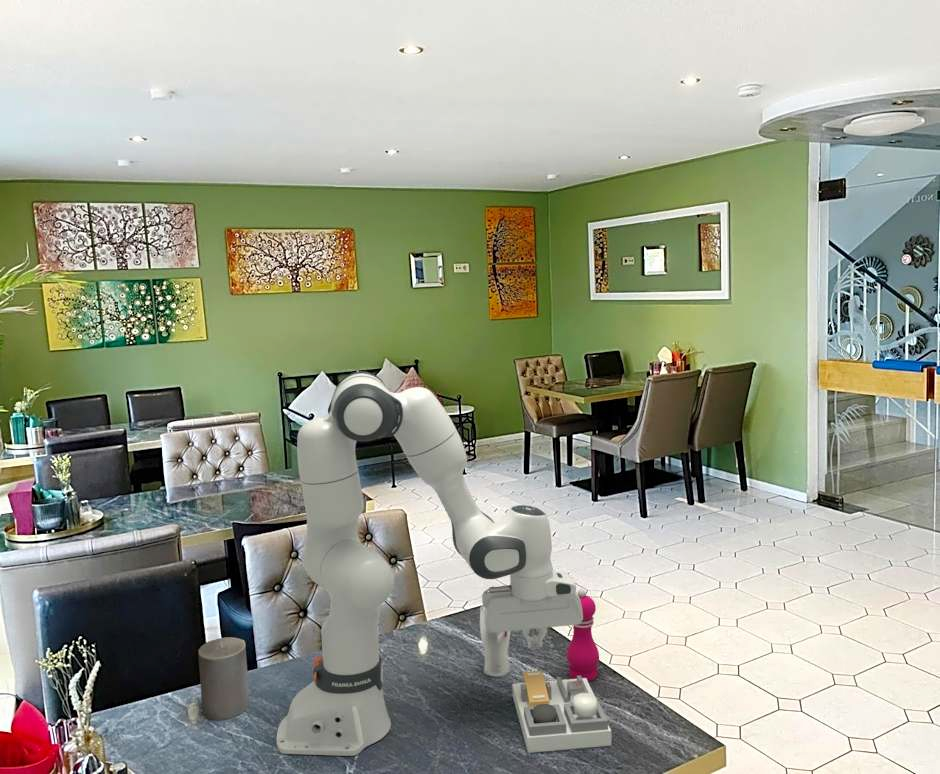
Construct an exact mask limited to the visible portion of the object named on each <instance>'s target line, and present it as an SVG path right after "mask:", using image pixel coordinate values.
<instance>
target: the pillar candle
mask: <svg viewBox="0 0 940 774" xmlns="http://www.w3.org/2000/svg"><path fill="white" fill-rule="evenodd" d="M246 650H247V649H246V641H245V640H244V639H241V638H237V637H230V636H229V637H219V638H215V639H213V640H210V641H208V642H205V643H204V644H203V645H201V646H200V647H199V649H198V667H199V680H200V681H199V682H200V683H199V684H200V697H201V710H202V715H203V716H204V717H205V718H207V719H209V720H212V721H213V720H214V721H224V720H229V719H233V718H236V717H237V716H239V715H241V714H243V713H244V712H246V711H247V709H248V707H249V705H250V691H249V677H248V676H249V675H248V664H247V663H248V662H247V651H246Z"/></svg>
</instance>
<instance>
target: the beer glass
mask: <svg viewBox="0 0 940 774" xmlns="http://www.w3.org/2000/svg"><path fill="white" fill-rule="evenodd" d="M479 608H480V611H479V632H480V638H481V642H482V643H481V644H482V646H483V653H484V662H483V673H484V674H485V675H487V676H489V677H493V678H494V677H495V678H498V677H499V678H500V677H505V676H507V675H508V674H509V673H510V671H511V666H510V662H509V656H508V655H509V653H508V652H509V645H510V639H511V631H505V632H494V633H490V632H489V631H488V630H487V629H486V626H485V607H484V606H483V604H482V605H481V606H480V607H479Z"/></svg>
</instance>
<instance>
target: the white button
mask: <svg viewBox="0 0 940 774" xmlns="http://www.w3.org/2000/svg"><path fill="white" fill-rule="evenodd" d="M597 701H598V700H597V697H596V696H595V694H594V695H592V694H589V693H580V694H577V695H575V696H574V713H575V714H576V715H578V716H580V717H592V716H594V715H596V713H597Z"/></svg>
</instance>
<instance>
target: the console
mask: <svg viewBox="0 0 940 774" xmlns="http://www.w3.org/2000/svg"><path fill="white" fill-rule="evenodd" d="M569 681H582V683H583V685H584V687H585V693H589V694H592V695H594V696H595V694H594V692H593V689H592V687H591V686H590V683H589V681H587V679H586V678H582V677H581V676H577V679H573V678H569V679H562V678H561V677H560V676H558V677H556V680H547V681H546V680H545V685H546V689H547V693H548V697H549V705H552V706H553V707H555V709H556V722H549V723H538V724H534V722H533V708H534V707H535V706H532V707H529V702H528V697H527V692H526V687H525V683H524V682H520V683H518V682H517V683H512V686H511V687H512V699H513V703H514V706H515V711H516V713H517V714H516V715H517V717H518V721H519V724H520V725H519V726H520V729H521V732H522V736H523V740H524V744H525V746H526V751H527V753H528V754H529V753H541V752H542V753H544V752H551V751H552V752H553V751H567V750H576V749H586V748H588V749H589V748H597V747H598V748H600V747H609V746H610V747H611V746H612V730H611V727H610V725H609V720H608V718H607V716H606V714H605V712H604V710H603V707H602V706H601V703H600V701H598V700H597V713H596V715H594V716H592V717H580V716H578V715H576V714H575V713H574V703H570V701H569V698H568V694H567V682H569Z"/></svg>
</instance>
